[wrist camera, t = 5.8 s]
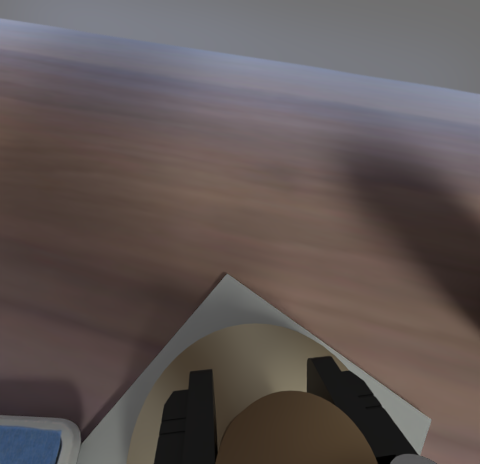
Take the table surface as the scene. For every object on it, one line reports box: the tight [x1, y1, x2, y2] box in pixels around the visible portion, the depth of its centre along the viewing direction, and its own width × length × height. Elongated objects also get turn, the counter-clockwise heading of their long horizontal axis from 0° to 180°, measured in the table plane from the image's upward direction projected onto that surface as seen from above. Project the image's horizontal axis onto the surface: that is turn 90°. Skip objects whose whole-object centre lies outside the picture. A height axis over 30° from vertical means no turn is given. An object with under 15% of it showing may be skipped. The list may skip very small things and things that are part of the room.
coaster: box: [77, 274, 431, 464], centre depth 13 cm, size 12×12×1 cm
